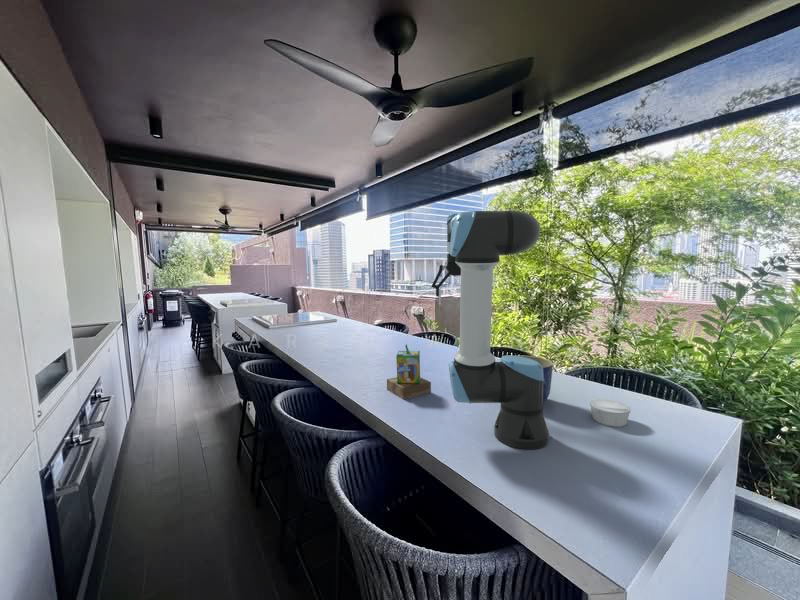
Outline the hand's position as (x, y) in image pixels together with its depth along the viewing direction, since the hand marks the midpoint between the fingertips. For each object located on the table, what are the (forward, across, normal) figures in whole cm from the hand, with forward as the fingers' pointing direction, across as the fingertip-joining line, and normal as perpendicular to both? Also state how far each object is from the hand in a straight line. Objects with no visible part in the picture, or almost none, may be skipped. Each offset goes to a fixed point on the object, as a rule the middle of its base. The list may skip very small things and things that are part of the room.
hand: (456, 304), depth 142 cm
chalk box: (+31, +19, +7) cm, 37 cm away
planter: (+35, -26, +14) cm, 45 cm away
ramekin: (+35, -47, +29) cm, 66 cm away
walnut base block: (+35, +20, +7) cm, 41 cm away
